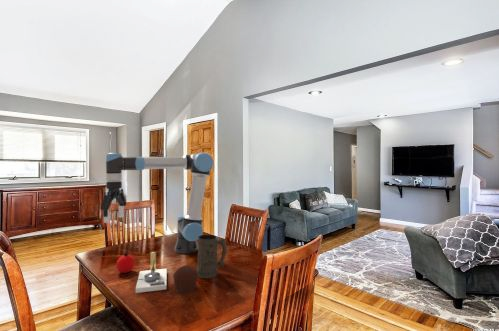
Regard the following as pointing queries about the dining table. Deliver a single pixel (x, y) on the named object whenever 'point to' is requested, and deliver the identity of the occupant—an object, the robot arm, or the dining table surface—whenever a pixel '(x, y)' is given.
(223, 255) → the beer stein
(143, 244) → the dining table surface
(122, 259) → the ornament
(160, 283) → the stand
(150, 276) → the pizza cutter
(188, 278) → the muffin
